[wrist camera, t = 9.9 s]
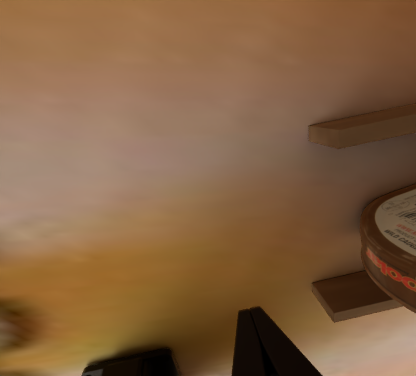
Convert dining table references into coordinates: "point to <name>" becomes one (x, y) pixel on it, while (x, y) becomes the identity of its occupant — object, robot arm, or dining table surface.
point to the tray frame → (361, 282)
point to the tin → (392, 244)
